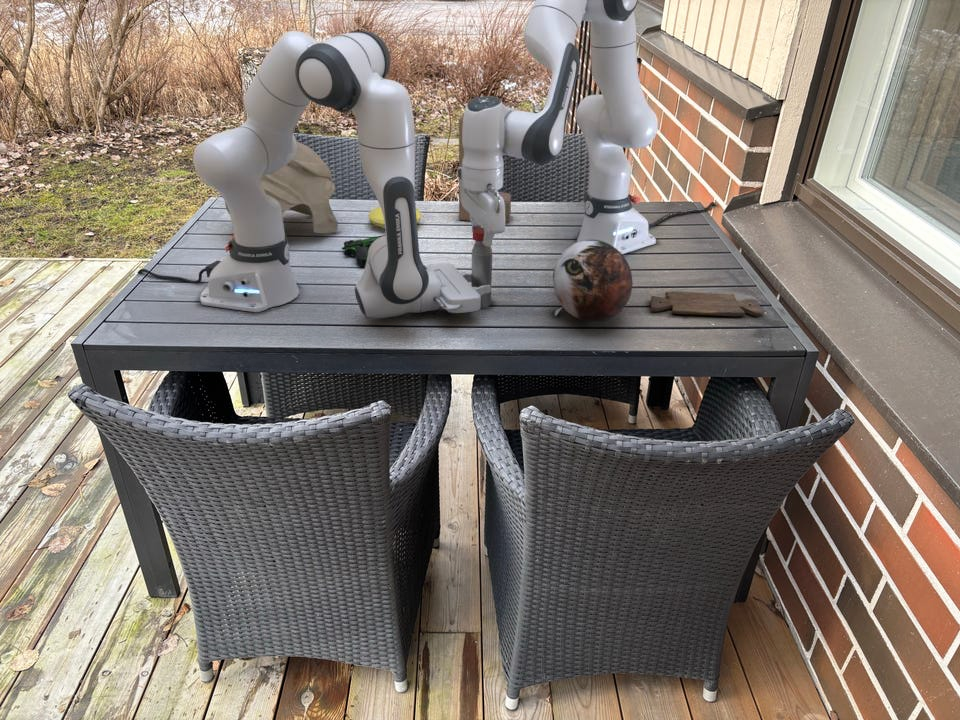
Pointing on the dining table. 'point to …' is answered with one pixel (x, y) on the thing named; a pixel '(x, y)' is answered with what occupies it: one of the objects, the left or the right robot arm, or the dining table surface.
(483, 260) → the bottle
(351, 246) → the handgun
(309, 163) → the helmet
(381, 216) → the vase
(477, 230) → the cap
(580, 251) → the plush toy
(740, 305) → the wooden paddle board
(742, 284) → the dining table surface
